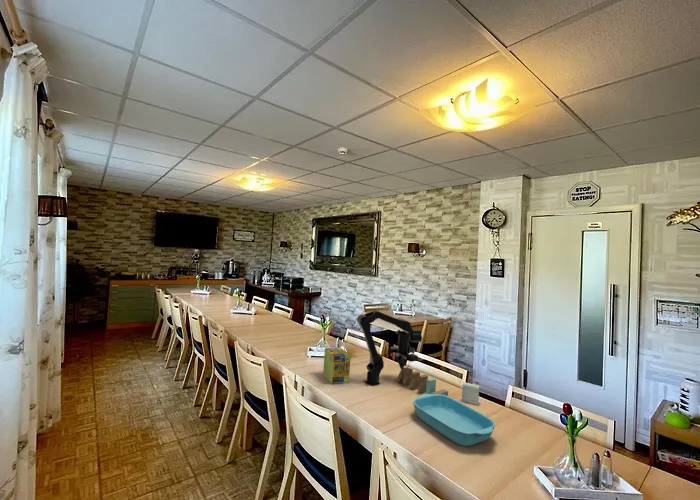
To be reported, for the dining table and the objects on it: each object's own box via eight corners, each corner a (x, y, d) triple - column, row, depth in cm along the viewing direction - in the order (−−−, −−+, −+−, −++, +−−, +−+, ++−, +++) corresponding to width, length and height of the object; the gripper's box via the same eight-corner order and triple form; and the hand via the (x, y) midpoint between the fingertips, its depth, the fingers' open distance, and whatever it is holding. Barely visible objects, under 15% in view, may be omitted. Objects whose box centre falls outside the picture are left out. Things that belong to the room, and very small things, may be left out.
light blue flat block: (425, 397, 165) (426, 379, 165) (432, 395, 168) (433, 377, 168) (428, 398, 163) (429, 380, 163) (435, 396, 166) (436, 379, 166)
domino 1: (404, 381, 184) (410, 369, 181) (398, 383, 181) (403, 370, 178) (402, 379, 185) (407, 367, 182) (396, 380, 182) (401, 368, 179)
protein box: (331, 384, 172) (333, 356, 173) (322, 374, 186) (324, 348, 187) (349, 382, 177) (351, 354, 177) (339, 372, 191) (340, 347, 191)
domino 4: (426, 392, 170) (427, 375, 171) (420, 394, 167) (421, 377, 168) (424, 391, 172) (425, 374, 172) (417, 392, 169) (418, 376, 169)
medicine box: (478, 402, 163) (479, 385, 163) (478, 405, 159) (479, 388, 159) (462, 398, 166) (463, 381, 166) (461, 401, 162) (462, 384, 162)
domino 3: (419, 388, 175) (420, 372, 175) (412, 390, 172) (413, 373, 172) (416, 387, 176) (417, 371, 177) (410, 389, 173) (411, 372, 174)
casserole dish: (403, 412, 147) (404, 396, 147) (438, 404, 158) (438, 389, 158) (468, 458, 115) (469, 438, 115) (506, 444, 126) (507, 426, 126)
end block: (435, 404, 157) (435, 395, 157) (430, 401, 159) (430, 392, 159) (447, 400, 163) (448, 391, 163) (442, 397, 165) (443, 389, 165)
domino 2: (411, 385, 179) (412, 369, 179) (405, 386, 176) (406, 370, 176) (409, 383, 181) (410, 368, 181) (402, 385, 178) (404, 369, 178)
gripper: (425, 344, 181) (423, 372, 180) (401, 336, 195) (399, 362, 195) (412, 346, 174) (410, 375, 173) (388, 338, 189) (386, 364, 188)
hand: (401, 369), depth 183 cm, fingers closed
